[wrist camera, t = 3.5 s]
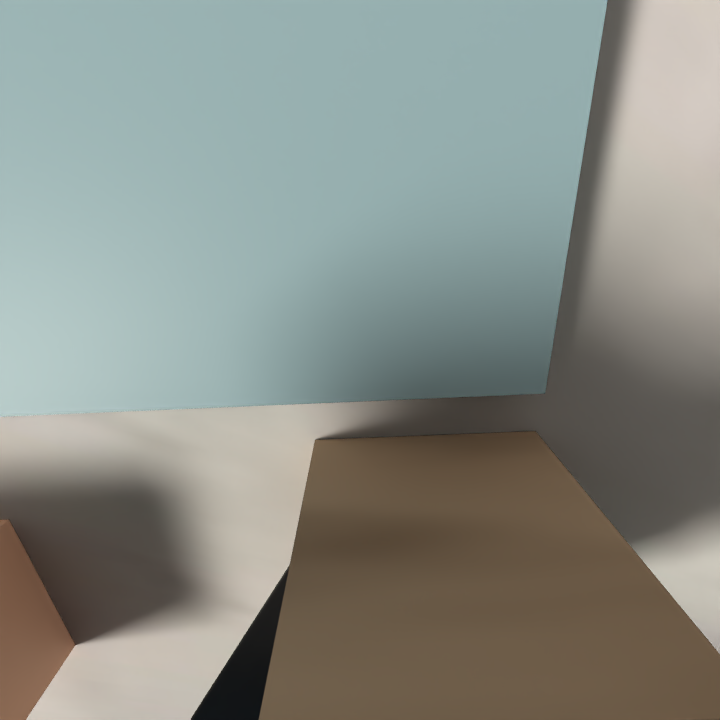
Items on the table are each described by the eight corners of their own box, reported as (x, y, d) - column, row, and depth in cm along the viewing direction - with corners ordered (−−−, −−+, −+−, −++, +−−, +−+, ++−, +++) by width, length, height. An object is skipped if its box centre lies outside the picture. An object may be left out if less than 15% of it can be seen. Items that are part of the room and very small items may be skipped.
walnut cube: (511, 585, 10) (644, 907, 5) (331, 591, 10) (307, 913, 5) (535, 430, 8) (771, 716, 3) (315, 440, 8) (255, 730, 4)
